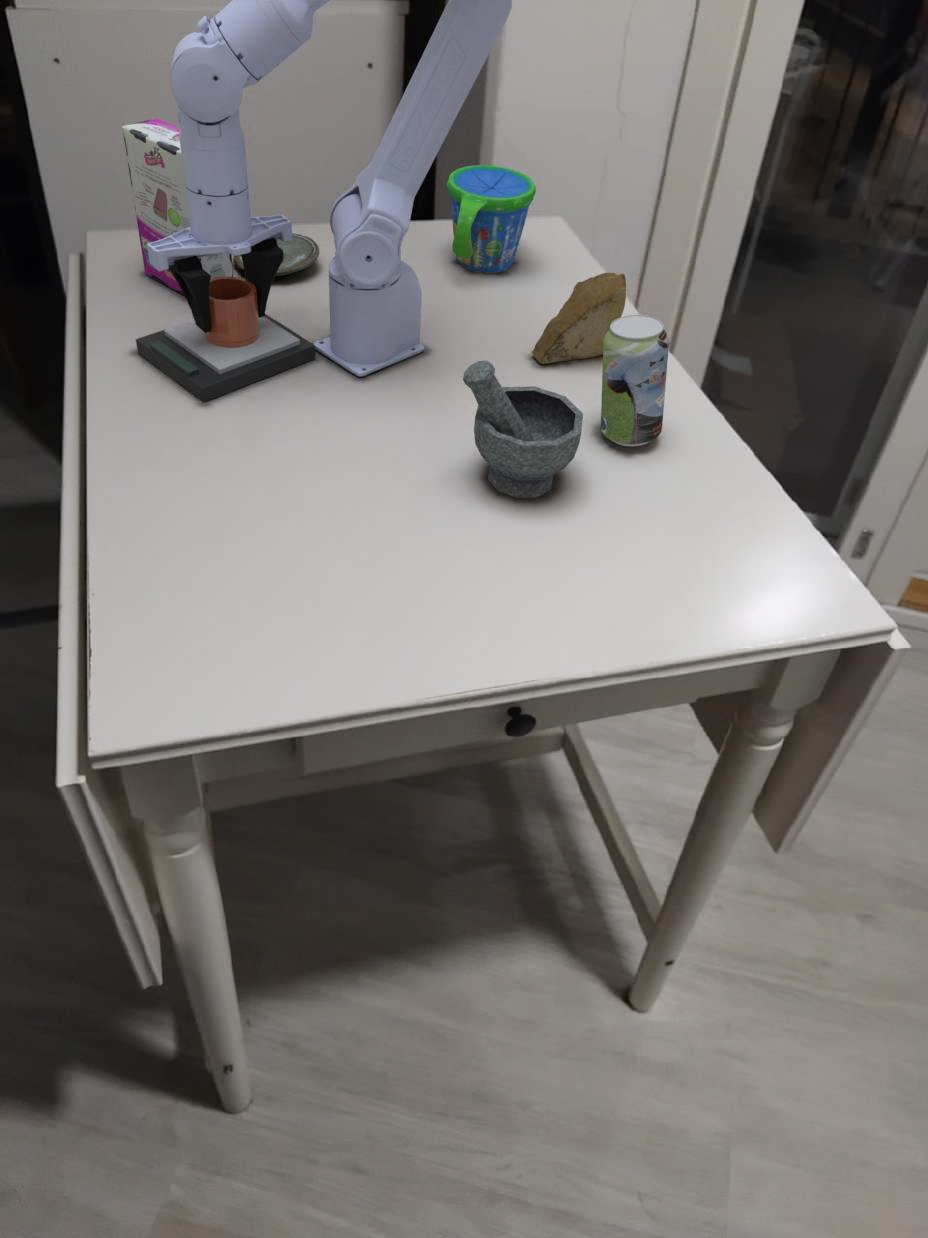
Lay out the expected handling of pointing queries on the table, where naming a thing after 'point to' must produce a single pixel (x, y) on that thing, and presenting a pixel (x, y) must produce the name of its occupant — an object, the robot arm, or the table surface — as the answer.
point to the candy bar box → (162, 193)
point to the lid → (292, 254)
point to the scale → (223, 357)
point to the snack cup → (488, 215)
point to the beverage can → (634, 380)
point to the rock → (583, 320)
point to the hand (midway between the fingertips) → (230, 320)
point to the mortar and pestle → (522, 432)
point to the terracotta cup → (233, 312)
